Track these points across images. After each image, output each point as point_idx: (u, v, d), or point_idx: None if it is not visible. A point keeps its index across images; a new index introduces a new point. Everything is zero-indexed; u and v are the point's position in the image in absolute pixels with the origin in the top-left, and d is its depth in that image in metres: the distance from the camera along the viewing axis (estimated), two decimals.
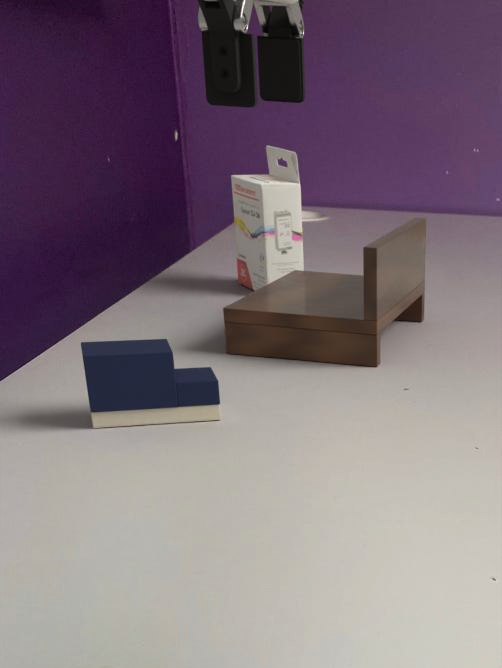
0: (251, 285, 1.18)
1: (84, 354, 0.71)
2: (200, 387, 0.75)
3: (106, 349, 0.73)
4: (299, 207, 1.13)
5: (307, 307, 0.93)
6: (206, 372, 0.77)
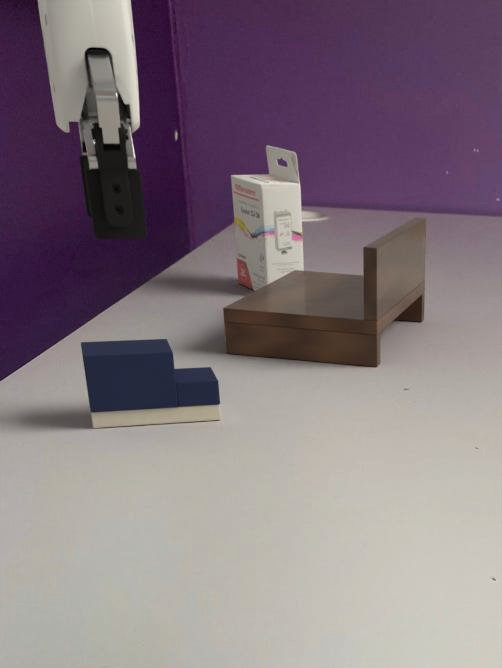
0: (251, 285, 1.18)
1: (84, 354, 0.71)
2: (200, 387, 0.75)
3: (106, 349, 0.73)
4: (299, 207, 1.13)
5: (307, 307, 0.93)
6: (206, 373, 0.77)
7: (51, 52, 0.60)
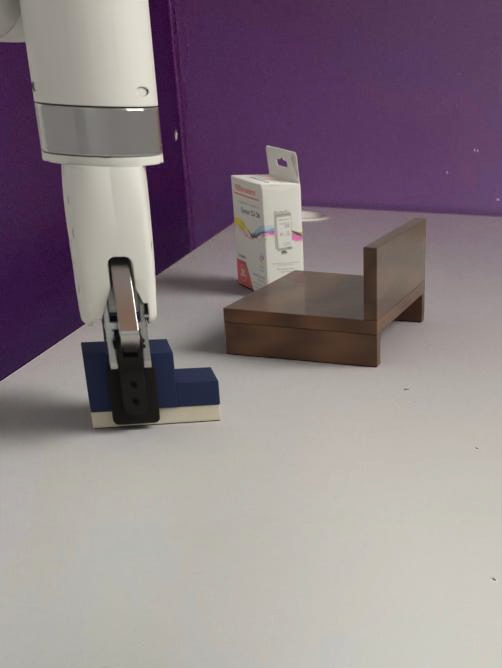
0: (251, 285, 1.18)
1: (84, 354, 0.71)
2: (200, 387, 0.75)
3: (106, 349, 0.73)
4: (299, 207, 1.13)
5: (307, 307, 0.93)
6: (206, 373, 0.77)
7: (77, 261, 0.66)
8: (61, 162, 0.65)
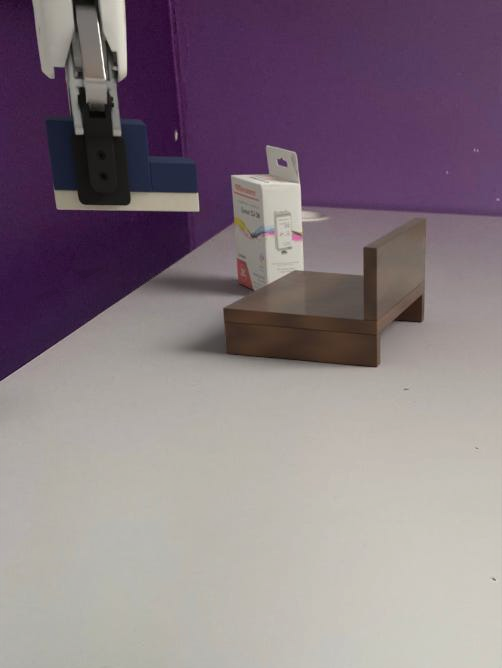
0: (251, 285, 1.18)
1: (47, 119, 0.64)
2: (176, 169, 0.68)
3: (72, 119, 0.66)
4: (299, 207, 1.13)
5: (307, 307, 0.93)
6: (183, 159, 0.70)
7: None
8: None
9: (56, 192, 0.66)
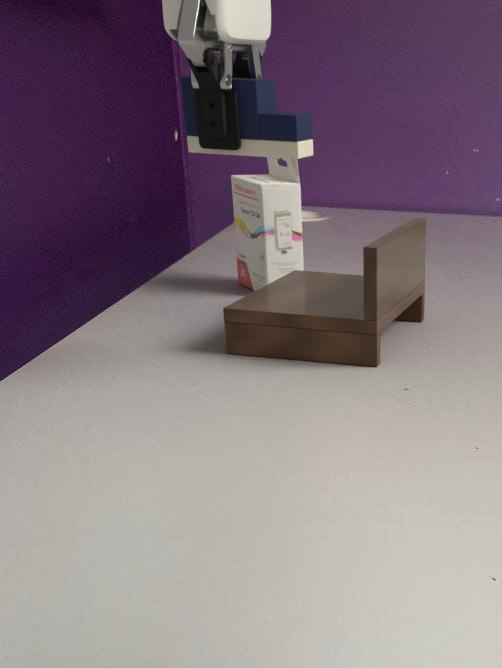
0: (251, 285, 1.18)
1: None
2: (279, 120, 0.78)
3: None
4: (299, 207, 1.13)
5: (307, 307, 0.93)
6: None
7: None
8: None
9: (188, 137, 0.80)
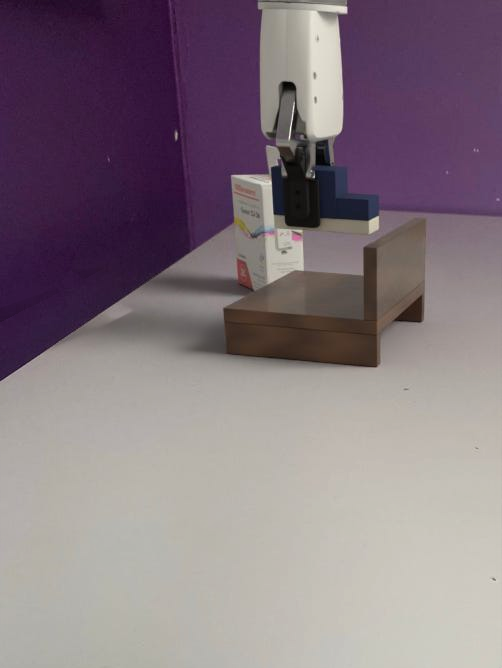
0: (251, 285, 1.18)
1: (273, 166, 0.93)
2: (354, 203, 0.93)
3: None
4: None
5: (307, 307, 0.93)
6: (368, 196, 0.95)
7: (260, 84, 0.87)
8: (262, 7, 0.86)
9: (275, 216, 0.95)
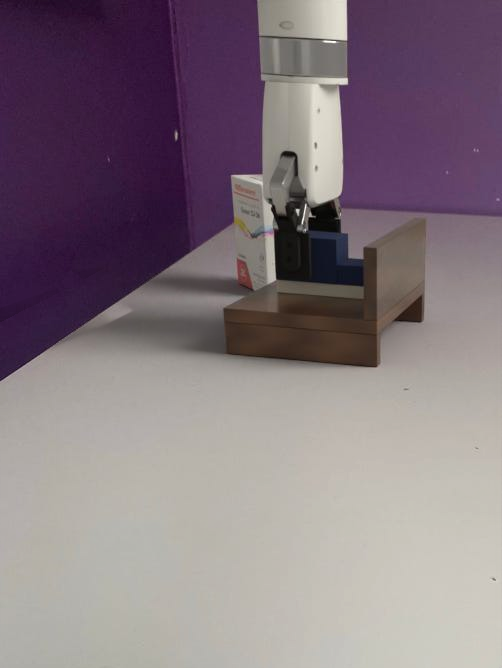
0: (251, 285, 1.18)
1: None
2: (354, 270, 0.96)
3: None
4: None
5: (307, 307, 0.93)
6: None
7: (262, 153, 0.90)
8: (265, 79, 0.89)
9: (277, 281, 0.98)
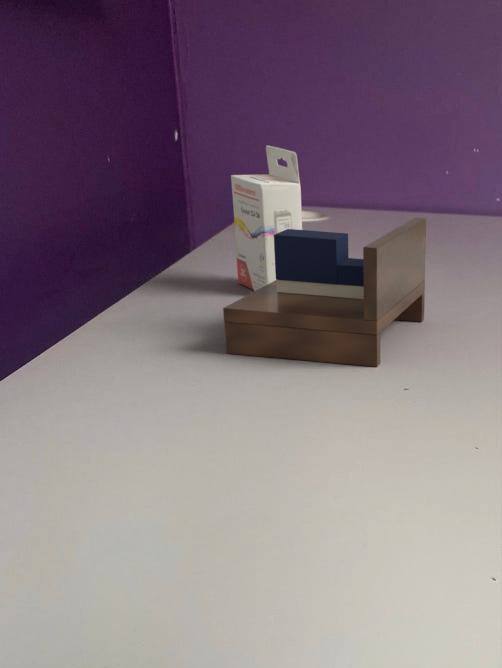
0: (251, 285, 1.18)
1: (276, 234, 0.96)
2: (354, 270, 0.96)
3: (295, 233, 0.97)
4: (299, 207, 1.13)
5: (307, 307, 0.93)
6: None
7: None
8: None
9: (277, 281, 0.98)
